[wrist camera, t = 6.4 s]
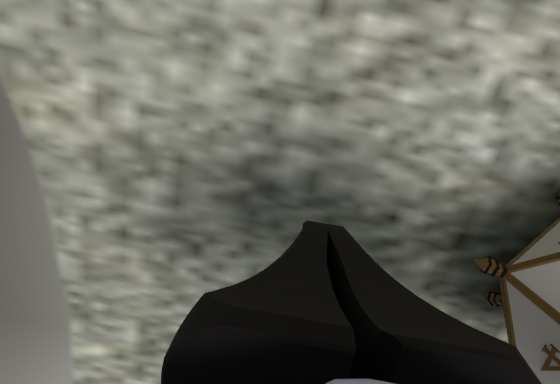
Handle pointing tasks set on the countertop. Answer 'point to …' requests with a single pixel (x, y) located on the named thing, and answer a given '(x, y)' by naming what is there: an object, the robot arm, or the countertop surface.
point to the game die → (532, 301)
